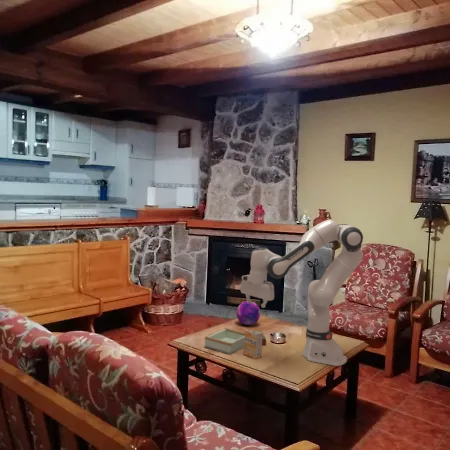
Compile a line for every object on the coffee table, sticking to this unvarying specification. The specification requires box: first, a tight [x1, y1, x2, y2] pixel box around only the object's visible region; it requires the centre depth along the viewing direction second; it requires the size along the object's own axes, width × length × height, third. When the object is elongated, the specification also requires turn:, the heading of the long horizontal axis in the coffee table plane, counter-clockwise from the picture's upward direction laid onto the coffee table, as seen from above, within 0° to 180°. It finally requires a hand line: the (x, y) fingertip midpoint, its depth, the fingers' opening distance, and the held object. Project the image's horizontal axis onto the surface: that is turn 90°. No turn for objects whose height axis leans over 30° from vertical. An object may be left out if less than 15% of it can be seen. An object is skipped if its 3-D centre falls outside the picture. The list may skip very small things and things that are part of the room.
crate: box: [204, 327, 245, 356], centre depth 241 cm, size 16×20×6 cm
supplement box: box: [243, 328, 264, 360], centre depth 227 cm, size 8×5×13 cm, turn 50°
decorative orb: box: [236, 300, 261, 326], centre depth 280 cm, size 15×15×15 cm
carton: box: [254, 329, 267, 347], centre depth 252 cm, size 8×16×4 cm, turn 5°
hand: (256, 305), depth 229 cm, fingers open, 8 cm apart
